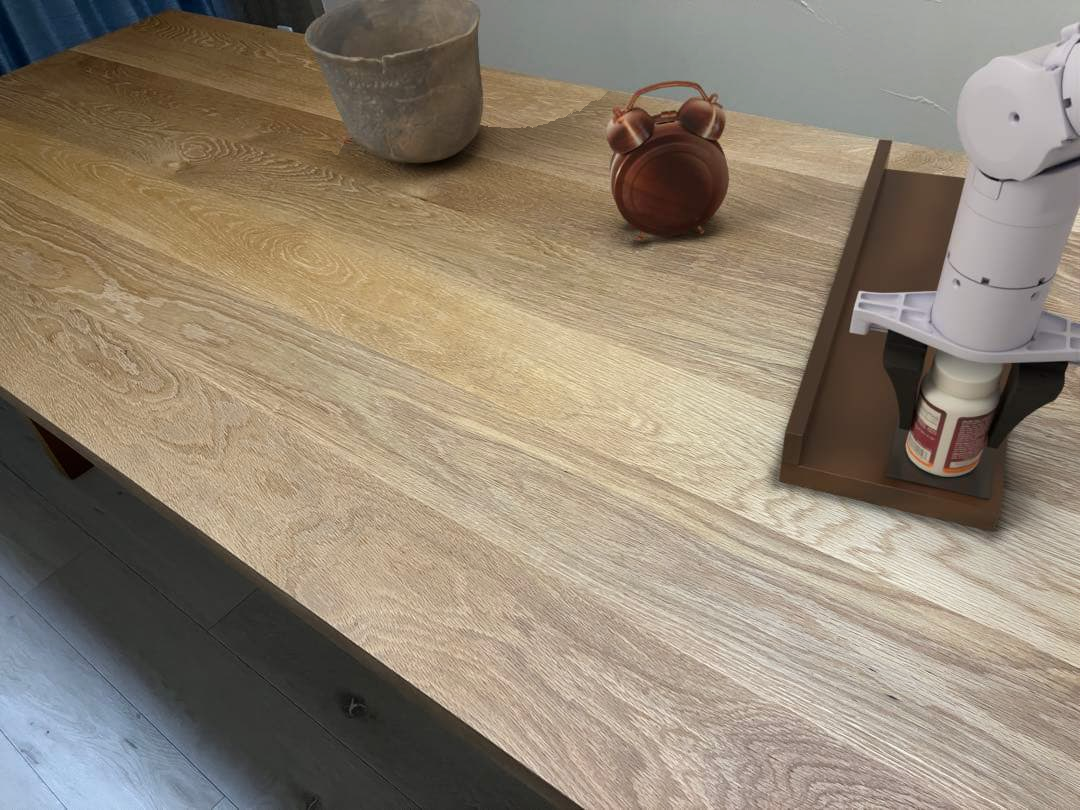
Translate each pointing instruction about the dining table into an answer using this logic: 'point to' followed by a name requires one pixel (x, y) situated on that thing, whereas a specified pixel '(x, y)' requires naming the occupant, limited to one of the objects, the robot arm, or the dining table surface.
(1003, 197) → the robot arm
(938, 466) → the pill bottle
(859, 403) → the shelf
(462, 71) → the bowl
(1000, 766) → the dining table surface
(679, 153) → the alarm clock
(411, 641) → the dining table surface
